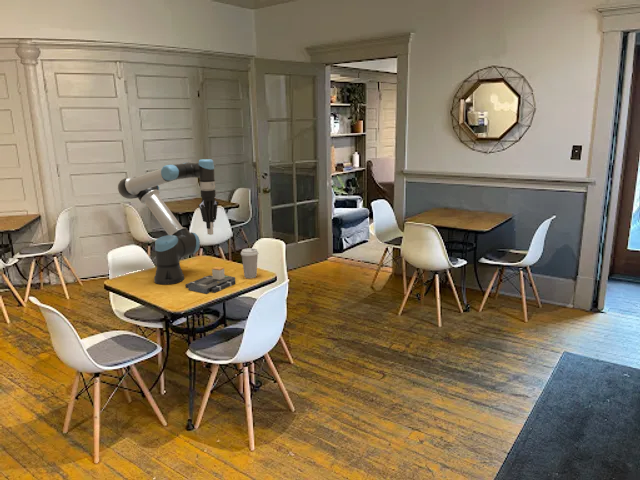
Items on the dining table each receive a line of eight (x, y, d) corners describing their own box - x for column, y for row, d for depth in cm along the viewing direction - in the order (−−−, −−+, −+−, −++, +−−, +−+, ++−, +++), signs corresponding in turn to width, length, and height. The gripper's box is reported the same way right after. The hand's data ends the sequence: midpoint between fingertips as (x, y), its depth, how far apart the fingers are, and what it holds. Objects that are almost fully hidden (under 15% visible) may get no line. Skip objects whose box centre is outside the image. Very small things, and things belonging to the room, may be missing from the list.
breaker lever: (212, 278, 253) (212, 268, 251) (217, 276, 256) (216, 266, 254) (220, 279, 250) (219, 269, 249) (224, 278, 253) (224, 267, 252)
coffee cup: (256, 279, 259) (255, 252, 256) (239, 278, 261) (237, 251, 257) (261, 274, 268) (260, 248, 265) (245, 273, 270) (244, 247, 267)
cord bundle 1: (185, 287, 247) (184, 283, 246) (209, 278, 262) (209, 274, 262) (191, 289, 245) (191, 285, 244) (215, 279, 260) (215, 275, 259)
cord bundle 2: (211, 292, 240) (210, 288, 239) (232, 283, 253) (231, 279, 253) (215, 293, 238) (214, 289, 238) (236, 284, 252) (235, 280, 252)
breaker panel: (188, 290, 243) (188, 285, 242) (217, 278, 262) (217, 273, 261) (206, 293, 237) (206, 288, 237) (235, 281, 256) (235, 276, 255)
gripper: (204, 191, 244) (207, 237, 249) (221, 188, 255) (224, 232, 260) (193, 190, 247) (196, 235, 253) (211, 187, 258) (213, 231, 264)
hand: (210, 234), depth 256 cm, fingers closed
